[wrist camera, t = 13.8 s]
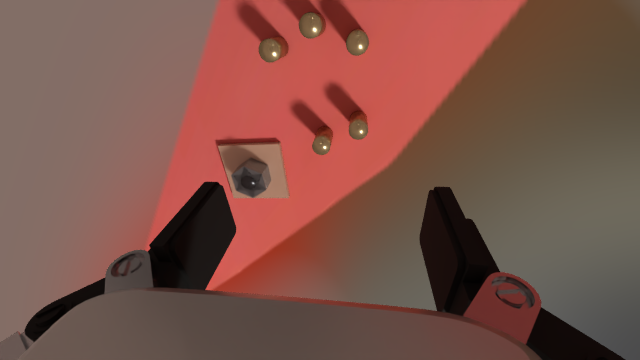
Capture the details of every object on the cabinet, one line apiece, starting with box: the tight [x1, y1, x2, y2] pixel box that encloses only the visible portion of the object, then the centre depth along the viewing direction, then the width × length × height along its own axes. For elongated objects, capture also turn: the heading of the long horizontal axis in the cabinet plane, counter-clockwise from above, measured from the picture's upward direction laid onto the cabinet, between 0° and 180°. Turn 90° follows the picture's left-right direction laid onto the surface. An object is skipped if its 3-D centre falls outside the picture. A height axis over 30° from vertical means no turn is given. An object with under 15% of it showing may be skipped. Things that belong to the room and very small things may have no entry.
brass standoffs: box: [259, 12, 369, 155], centre depth 33 cm, size 16×12×4 cm
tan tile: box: [218, 142, 290, 198], centre depth 43 cm, size 10×10×1 cm
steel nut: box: [231, 158, 271, 198], centre depth 42 cm, size 6×5×3 cm
